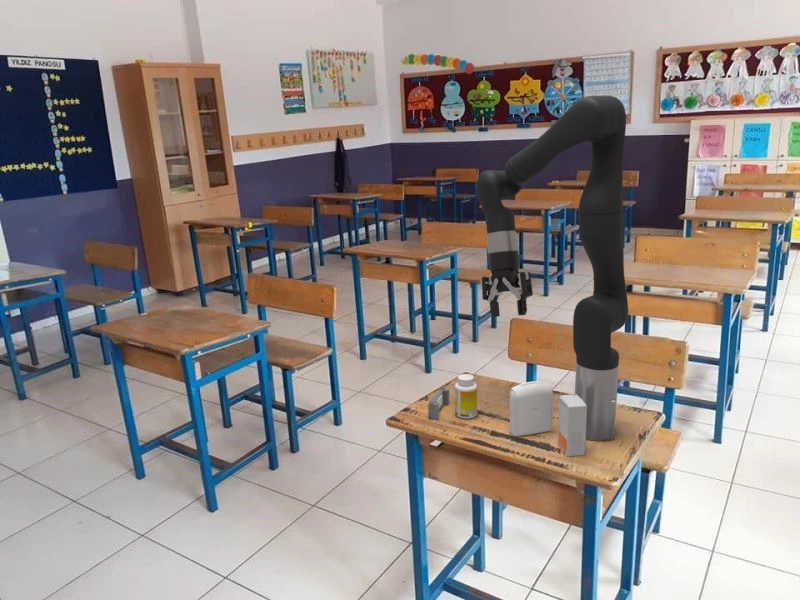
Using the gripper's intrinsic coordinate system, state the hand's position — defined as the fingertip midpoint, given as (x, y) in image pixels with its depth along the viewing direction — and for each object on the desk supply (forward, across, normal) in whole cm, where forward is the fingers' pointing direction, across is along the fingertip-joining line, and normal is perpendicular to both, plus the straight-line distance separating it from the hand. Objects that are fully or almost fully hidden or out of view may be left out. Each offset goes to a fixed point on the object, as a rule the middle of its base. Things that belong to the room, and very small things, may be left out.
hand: (508, 315), depth 155 cm
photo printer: (+28, -6, +3) cm, 28 cm away
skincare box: (+30, -18, +4) cm, 35 cm away
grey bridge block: (+23, +16, +12) cm, 30 cm away
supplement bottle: (+24, +10, +8) cm, 27 cm away
